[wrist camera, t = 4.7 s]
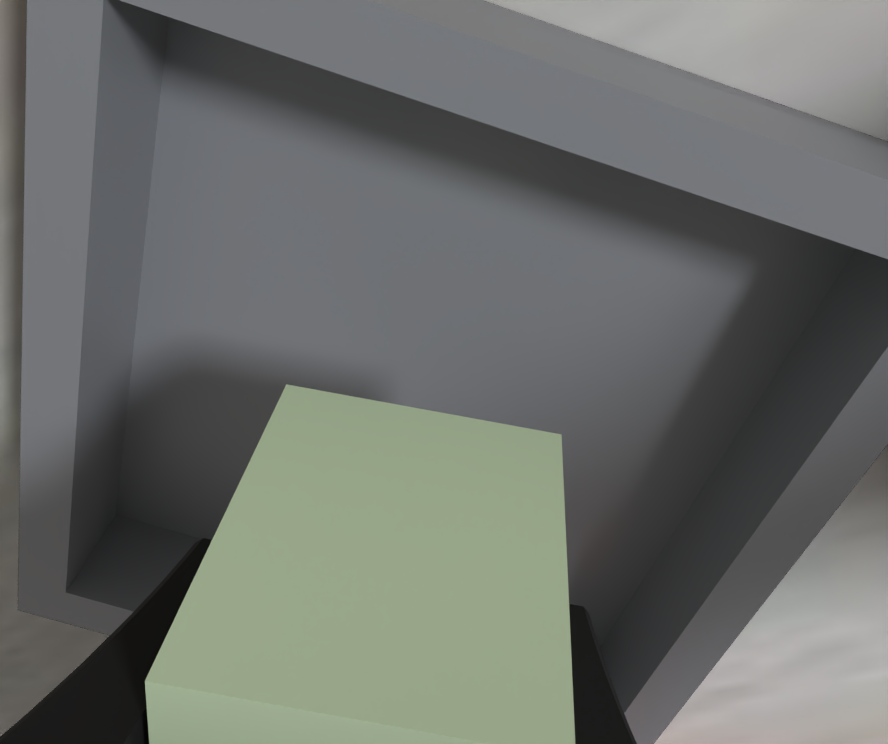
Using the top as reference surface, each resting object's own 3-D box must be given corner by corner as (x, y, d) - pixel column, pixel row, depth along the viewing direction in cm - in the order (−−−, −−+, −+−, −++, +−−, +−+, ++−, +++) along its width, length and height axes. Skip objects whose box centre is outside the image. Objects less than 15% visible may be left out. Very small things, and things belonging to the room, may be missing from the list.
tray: (955, 165, 14) (1050, 235, 11) (616, 667, 21) (627, 777, 19) (131, -123, 12) (28, -117, 10) (83, 514, 20) (17, 610, 17)
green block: (561, 434, 12) (575, 758, 7) (507, 620, 14) (494, 954, 10) (286, 384, 12) (144, 681, 7) (275, 578, 14) (160, 893, 10)
